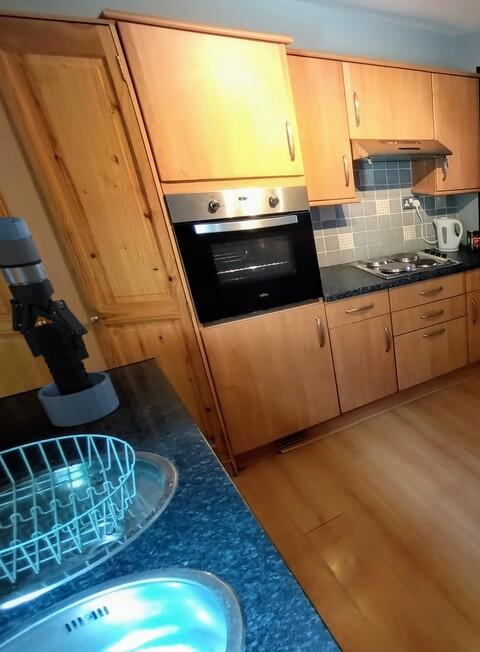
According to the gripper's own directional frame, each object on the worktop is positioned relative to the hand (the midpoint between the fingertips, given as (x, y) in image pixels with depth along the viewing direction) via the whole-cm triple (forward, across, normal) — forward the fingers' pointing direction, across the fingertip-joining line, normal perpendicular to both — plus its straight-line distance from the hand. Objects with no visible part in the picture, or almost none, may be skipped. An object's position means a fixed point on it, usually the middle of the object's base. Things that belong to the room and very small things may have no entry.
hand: (61, 357), depth 121 cm
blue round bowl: (+17, 0, 0) cm, 17 cm away
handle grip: (+17, 0, 0) cm, 17 cm away
